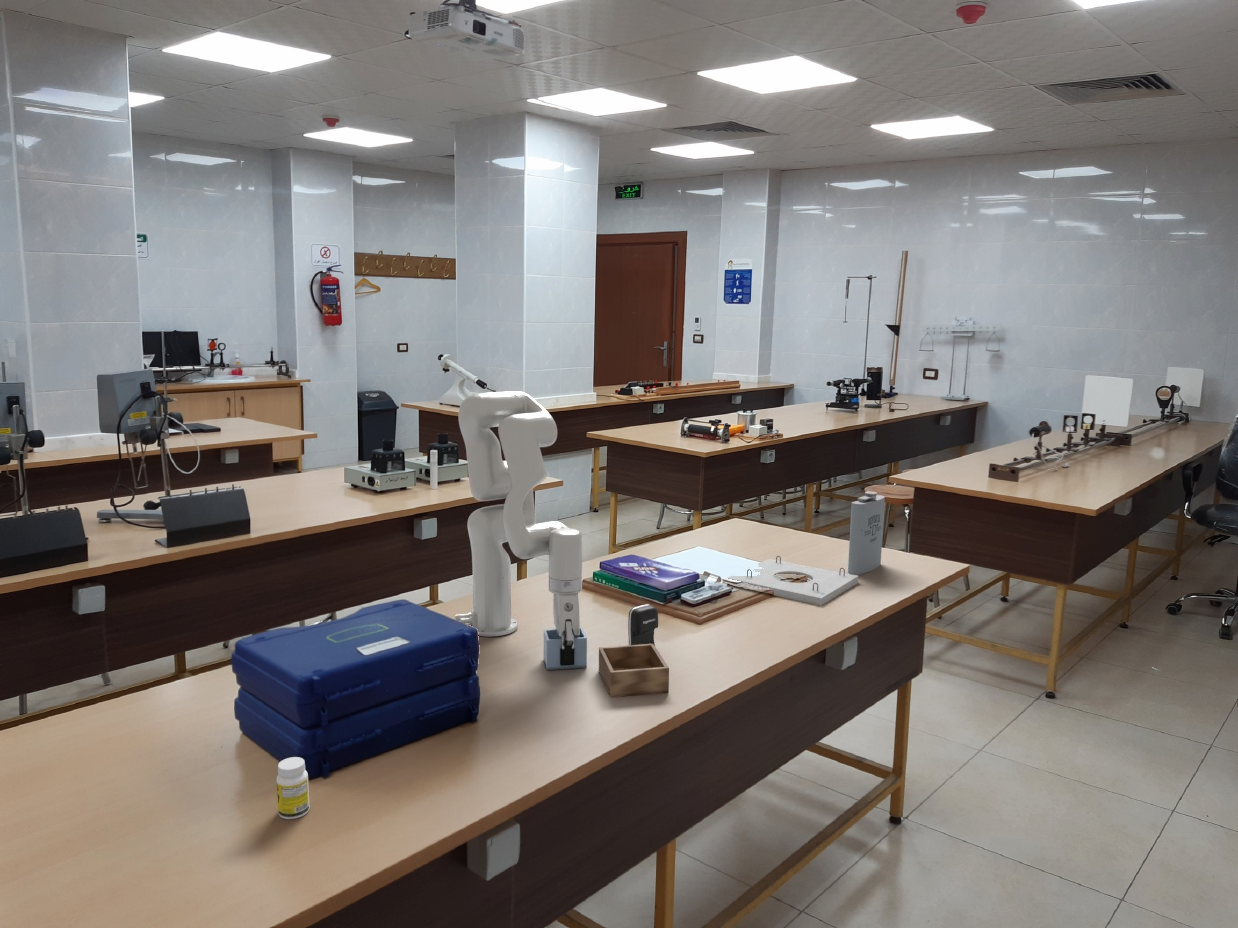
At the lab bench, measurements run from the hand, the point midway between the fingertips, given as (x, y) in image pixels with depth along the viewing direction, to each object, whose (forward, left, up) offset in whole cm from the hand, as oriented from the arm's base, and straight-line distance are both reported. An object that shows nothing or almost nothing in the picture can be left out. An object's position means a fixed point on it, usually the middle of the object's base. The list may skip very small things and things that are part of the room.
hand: (564, 657), depth 197 cm
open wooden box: (+13, -12, -1) cm, 18 cm away
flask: (+105, +59, -2) cm, 120 cm away
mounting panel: (+76, +48, -2) cm, 90 cm away
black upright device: (+19, +3, -2) cm, 19 cm away
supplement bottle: (-51, -51, -2) cm, 72 cm away
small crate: (0, 0, -1) cm, 1 cm away
